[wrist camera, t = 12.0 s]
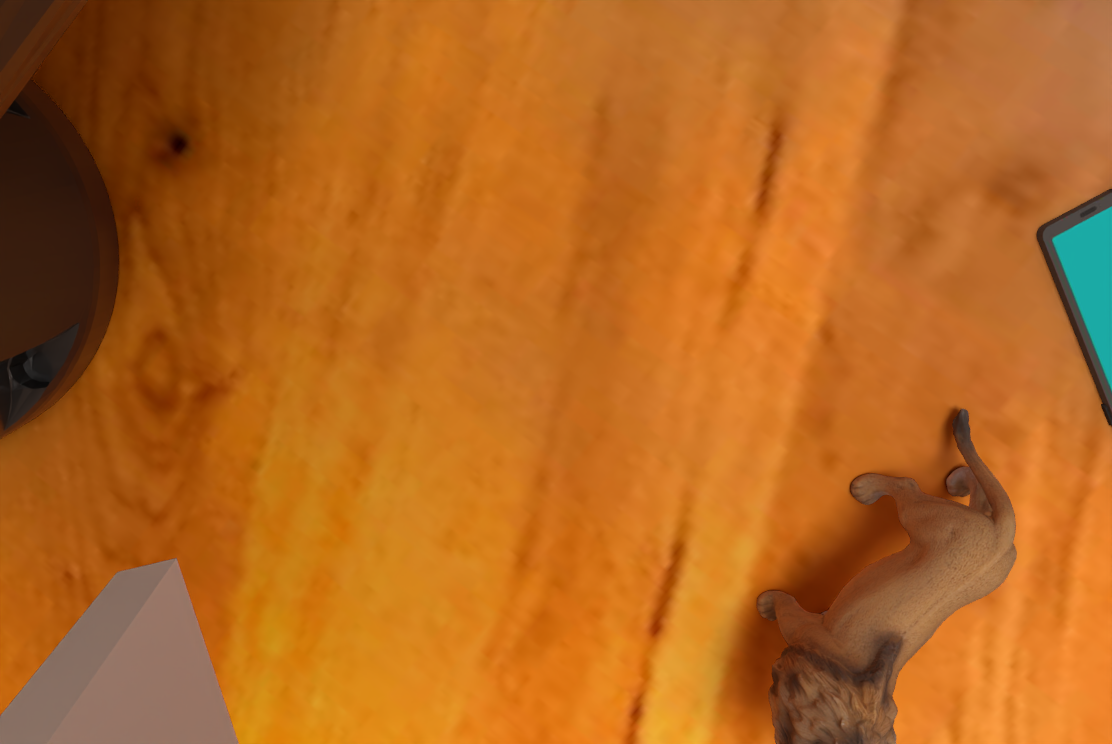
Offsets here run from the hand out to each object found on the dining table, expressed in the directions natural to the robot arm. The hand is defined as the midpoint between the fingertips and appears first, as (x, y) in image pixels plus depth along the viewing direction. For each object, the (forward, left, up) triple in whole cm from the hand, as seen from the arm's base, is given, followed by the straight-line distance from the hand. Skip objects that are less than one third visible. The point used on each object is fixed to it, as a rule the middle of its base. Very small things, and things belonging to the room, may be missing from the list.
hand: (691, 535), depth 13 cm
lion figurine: (+11, -13, -25) cm, 30 cm away
